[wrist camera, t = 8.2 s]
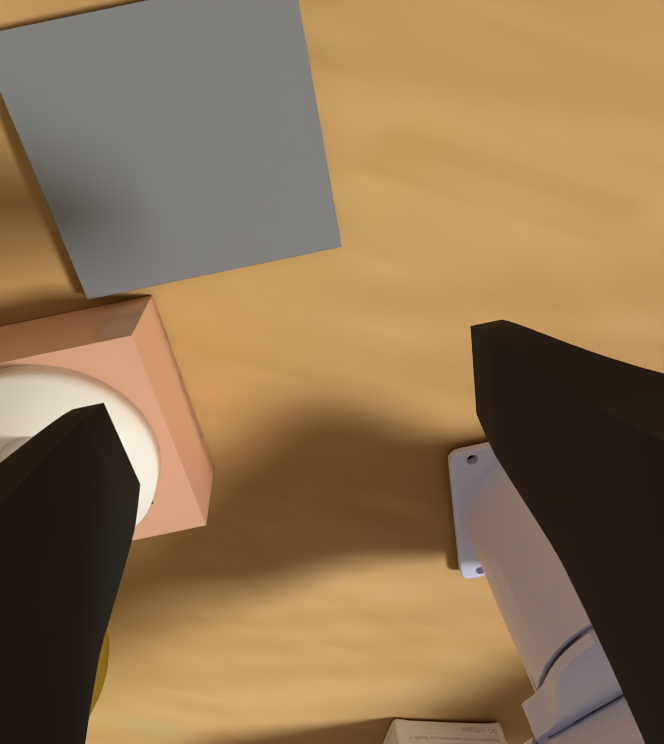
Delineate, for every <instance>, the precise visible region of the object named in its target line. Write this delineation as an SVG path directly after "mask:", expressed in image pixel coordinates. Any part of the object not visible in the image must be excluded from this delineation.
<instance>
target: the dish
mask: <svg viewBox="0 0 664 744" xmlns="http://www.w3.org/2000/svg"><path fill="white" fill-rule="evenodd" d="M30 364H34V365H50V366H57V367H63V368H67V369H71V370H75V371H79V372H81V373H84V374H87V375H90V376H92V377H94V378H96V379H98V380H100V381H103V382H105V383H107V384H108V385H110V386H111V387H113V388H114V389H116V390H118V391H119V392H120V393H122V394H123V395H124V396H125V397H127V398H128V399H129V400H130V401H131V402H132V403H133V404H134V405H135V406H136V407H137V408H138V409H139V410H140V411H141V413H142V414H143V415H144V417H145V418H146V419H147V421H148V422H149V424H150V426H151V428H152V429H153V431H154V434H155V436H156V439H157V441H158V445H159V450H160V460H161V465H160V474H159V478H158V482H157V485H156V489H155V493H154V496H153V500H152V503H151V505H150V507H149V509H148V511H147V513H146V514H145V516H144V517H143V519H142V520H141V521H140V522H139V523H138V524H137V525H136V526H135V530H134V534H133V538H132V541H133V540H138V539H142V538H147V537H152V536H157V535H162V534H166V533H171V532H176V531H181V530H186V529H190V528H195V527H200V526H205V525H206V523H207V516H208V508H209V501H210V493H211V486H212V478H213V471H214V466H213V463H212V460H211V458H210V455H209V452H208V449H207V446H206V444H205V441H204V438H203V435H202V433H201V430H200V427H199V424H198V421H197V419H196V416H195V413H194V410H193V408H192V405H191V402H190V399H189V396H188V394H187V391H186V388H185V385H184V383H183V380H182V377H181V374H180V371H179V369H178V366H177V363H176V360H175V358H174V355H173V352H172V349H171V346H170V344H169V341H168V338H167V335H166V332H165V330H164V327H163V324H162V321H161V319H160V316H159V313H158V310H157V307H156V305H155V302H154V299H153V296H152V295H150V296H145V297H140V298H135V299H131V300H126V301H121V302H116V303H111V304H107V305H102V306H97V307H92V308H87V309H83V310H78V311H73V312H68V313H63V314H59V315H54V316H49V317H44V318H40V319H35V320H30V321H25V322H20V323H16V324H11V325H6V326H1V327H0V369H1V368H5V367H11V366H16V365H30Z"/></svg>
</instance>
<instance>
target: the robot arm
mask: <svg viewBox="0 0 664 744" xmlns="http://www.w3.org/2000/svg"><path fill="white" fill-rule="evenodd" d="M471 339H472V354H473V368H474V383H475V398H476V413H477V416H478V419H479V421H480V423H481V426H482V428H483V430H484V433H485V435H486V437H487V439H488V442H486V443H482V444H477V445H472V446H467V447H462V448H458V449H455V450H453V451H452V452H451V453H450V454H449V456H448V467H449V477H450V487H451V496H452V506H453V516H454V526H455V536H456V545H457V555H458V565H459V570H460V573H461V576H462V577H464V578H467V579H471V578H476V577H481V576H486V578H487V581H488V583H489V585H490V588H491V590H492V593H493V595H494V597H495V600H496V602H497V604H498V607H499V609H500V611H501V614H502V616H503V618H504V621H505V623H506V625H507V628H508V630H509V632H510V635H511V637H512V639H513V642H514V644H515V647H516V649H517V651H518V654H519V656H520V658H521V661H522V663H523V665H524V668H525V670H526V672H527V675H528V677H529V679H530V682H531V684H532V686H533V689H534V691H535V694H534V695H532V696H531V697H530V698H528V699H527V700H525V701H524V702H523V703H522V707H523V709H524V712H525V714H526V717H527V719H528V722H529V724H530V727H531V729H532V732H533V734H534V738H531V739H529V740H527V741H526V742H525V743H524V744H664V373H660V372H656V371H652V370H649V369H645V368H641V367H638V366H634V365H631V364H628V363H625V362H622V361H618V360H615V359H612V358H609V357H605V356H603V355H600V354H597V353H594V352H591V351H588V350H585V349H582V348H580V347H577V346H574V345H571V344H569V343H566V342H563V341H561V340H558V339H556V338H553V337H550V336H548V335H545V334H543V333H540V332H537V331H535V330H532V329H529V328H527V327H524V326H521V325H519V324H516V323H513V322H509V321H505V320H498V321H493V322H488V323H484V324H479V325H474V326H471ZM471 455H475V456H474V457H473V458H471V459H467V458H468V457H469V456H471ZM139 493H140V482H139V480H138V478H137V475H136V473H135V471H134V469H133V467H132V464H131V462H130V460H129V458H128V455H127V453H126V451H125V449H124V447H123V444H122V442H121V440H120V438H119V435H118V433H117V431H116V429H115V427H114V424H113V422H112V420H111V418H110V415H109V413H108V411H107V409H106V406H105V404H104V403H100V404H95V405H90V406H85V407H80V408H76V409H72V410H70V411H69V412H67V413H65V414H64V415H62V416H61V417H59V418H58V419H56V420H55V421H53V422H52V423H51V424H49V425H48V426H47V427H45V428H44V429H43V430H41V431H40V432H39V433H37V434H36V435H35V436H33V437H32V438H31V439H30V440H28V441H27V442H26V443H24V444H23V445H22V446H21V447H19V448H18V449H17V450H16V451H14V452H13V453H12V454H10V455H9V456H8V457H7V458H5V459H4V460H3V461H2V462H0V744H85V741H86V734H87V727H88V720H89V714H90V708H91V702H92V696H93V690H94V685H95V679H96V673H97V667H98V662H99V657H100V653H101V649H102V645H103V640H104V636H105V633H106V629H107V626H108V622H109V619H110V615H111V612H112V608H113V605H114V602H115V598H116V595H117V591H118V588H119V584H120V581H121V577H122V574H123V570H124V567H125V563H126V560H127V556H128V553H129V549H130V545H131V542H132V538H133V534H134V530H135V525H136V518H137V511H138V502H139ZM480 566H481V567H480ZM478 567H479V568H478Z"/></svg>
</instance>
